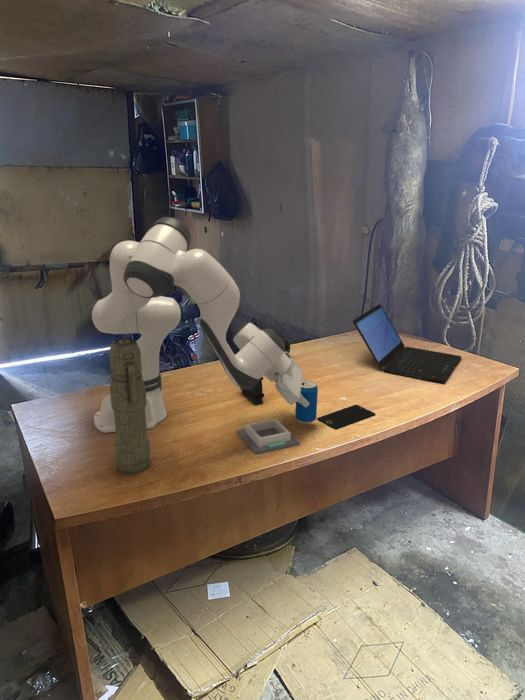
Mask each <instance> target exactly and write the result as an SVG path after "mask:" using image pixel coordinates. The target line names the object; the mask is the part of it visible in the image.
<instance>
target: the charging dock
mask: <svg viewBox="0 0 525 700" xmlns="http://www.w3.org/2000/svg"><path fill="white" fill-rule="evenodd" d="M236 434H237V435H238V437H240V438H241V440H242V441H243V442H244V443H245V445H246V446H247V447H248V448H249V449H250V451H251V452H252V453H253V454H254V455H261V454H265V453H268V452H273V451H278V450H283V449H287V448H291V447H296V446H300V444H301V442H300V441H299V440H298V439H297V438H296V437H295V436H294V435H293V434H292V433H291V431H289V430H288V429H287V428H286V427H285V426H284V425H283V424H282V423H281V422H280V421H279V420H278V419H277V418H272V419H267V420H261V421H257V422H256V421H255V422H251V423H246V424H245V425H244V428H241V429H237V430H236Z"/></svg>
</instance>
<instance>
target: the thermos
mask: <svg viewBox="0 0 525 700" xmlns="http://www.w3.org/2000/svg"><path fill="white" fill-rule="evenodd" d="M136 341H137V340H136V339H133V338H129V337H128V338H127V337H125V338H124V337H123V338H118V339H116V340H113V341H112V342H111V343H110V348H109V352H108V353H109V354H108V355H109V368H110V373H111V378H110V381H111V382H110V385H109V394H110V397H111V407H112V409H113V411H114V420H115V431H116V432H115V442H114V451H115V460H116V467H117V470H118V471H119V472H121V473H122V474H128V475H129V474H132V475H133V474H138V473H142V472H144V471H146V470H147V469H148V468H149V467H150V466H151V460H150V457H151V447H150V445H151V444H150V440H149V438H148V435H147V434H148V433H147V432H148V431H147V429H146V416H145V406H146V388H145V383H144V381H143V379H142V373H141V370H142V366H141V352H140V349H139V347H138V344H137V342H136Z"/></svg>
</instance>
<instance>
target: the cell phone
mask: <svg viewBox="0 0 525 700" xmlns="http://www.w3.org/2000/svg"><path fill="white" fill-rule="evenodd" d="M372 416H373V417H375V416H376V413H375V412H373V411H371V410H369V409H367V408H365V407H363V406H360V405H358V404H354V405H350V406H347V407H344V408H342V409H338V410H336V411H333V412H330V413H326V414H325V415H321V416H318V417H316V420H317V422H320V423H321V422H322V424H323V423H324V425H325V424H326V425H325V426H326V427H329V428H330V427H331V428H330V429H332V428H333V429H332V430H334V429H335V430H334V431H337V430H340V429H343V428H346V427H348V426H351V425H354V424H356V423H359V422H361V420H362V421H364V419H365V420H368V419H370V418H372ZM358 421H359V422H358ZM355 422H356V423H355ZM353 423H354V424H353ZM350 424H351V425H350ZM347 425H348V426H347ZM345 426H346V427H345ZM342 427H343V428H342ZM339 428H340V429H339Z"/></svg>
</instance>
